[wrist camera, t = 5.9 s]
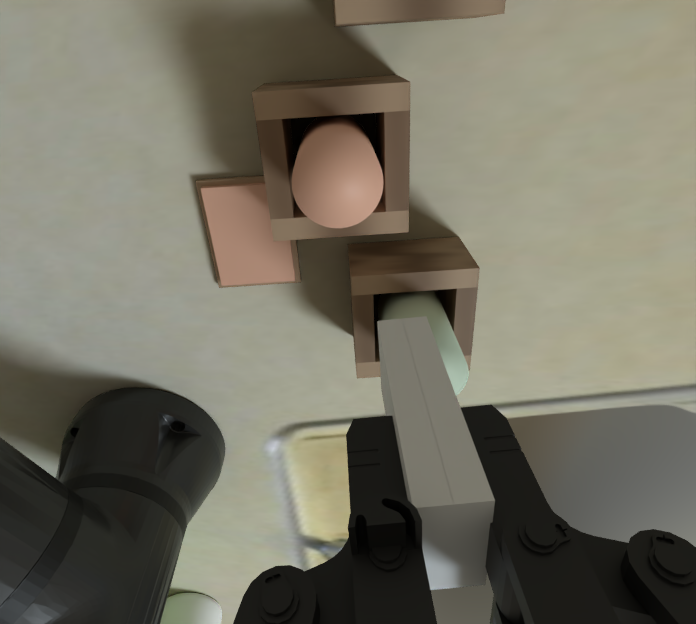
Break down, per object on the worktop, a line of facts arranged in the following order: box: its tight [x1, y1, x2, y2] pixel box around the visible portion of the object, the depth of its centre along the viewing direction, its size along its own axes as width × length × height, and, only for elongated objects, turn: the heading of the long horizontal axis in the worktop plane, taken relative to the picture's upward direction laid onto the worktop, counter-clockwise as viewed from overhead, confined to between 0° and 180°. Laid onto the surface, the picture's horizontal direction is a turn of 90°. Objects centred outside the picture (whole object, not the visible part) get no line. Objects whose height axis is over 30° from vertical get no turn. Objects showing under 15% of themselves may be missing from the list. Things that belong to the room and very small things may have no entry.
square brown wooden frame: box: [348, 237, 480, 378], centre depth 37 cm, size 9×9×6 cm
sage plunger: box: [377, 290, 469, 396], centre depth 33 cm, size 5×5×9 cm
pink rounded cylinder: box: [292, 115, 383, 228], centre depth 29 cm, size 5×5×9 cm
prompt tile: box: [196, 175, 301, 288], centre depth 36 cm, size 7×9×1 cm
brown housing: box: [252, 75, 410, 241], centre depth 31 cm, size 9×9×6 cm
